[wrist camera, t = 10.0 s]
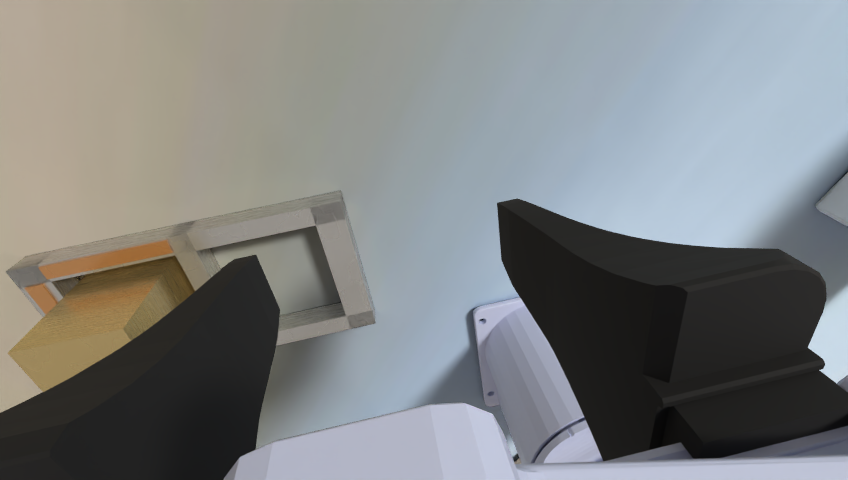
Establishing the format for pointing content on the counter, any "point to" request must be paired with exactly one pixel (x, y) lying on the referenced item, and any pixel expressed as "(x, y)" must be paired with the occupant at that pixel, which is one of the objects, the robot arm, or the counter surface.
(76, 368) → the tan wooden block
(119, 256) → the grey rectangular frame
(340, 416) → the counter surface
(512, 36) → the counter surface
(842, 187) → the tea box
